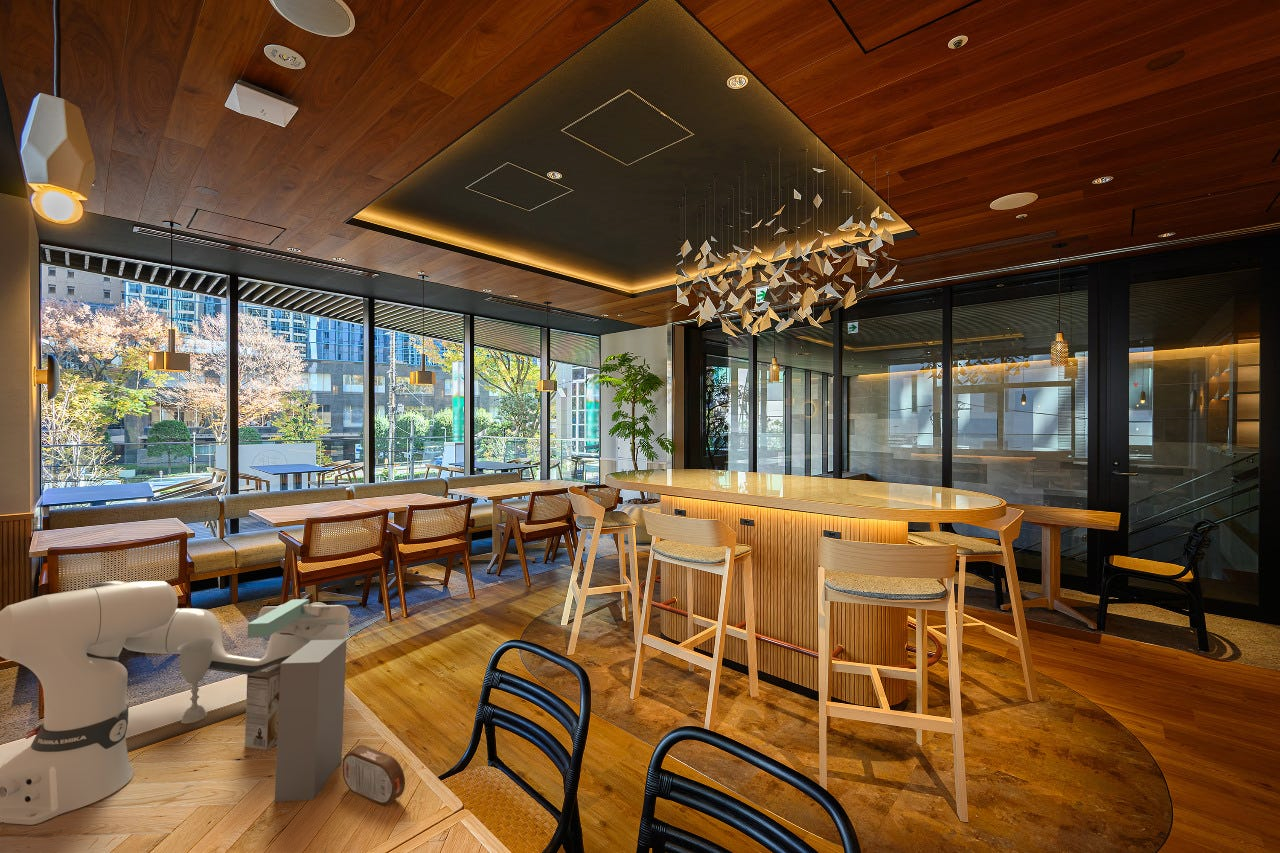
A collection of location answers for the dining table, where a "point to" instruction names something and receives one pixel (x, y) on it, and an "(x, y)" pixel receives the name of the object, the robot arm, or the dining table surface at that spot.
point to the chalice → (195, 672)
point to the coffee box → (262, 707)
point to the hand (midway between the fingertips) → (292, 608)
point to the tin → (373, 775)
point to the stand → (310, 719)
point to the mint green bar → (276, 619)
